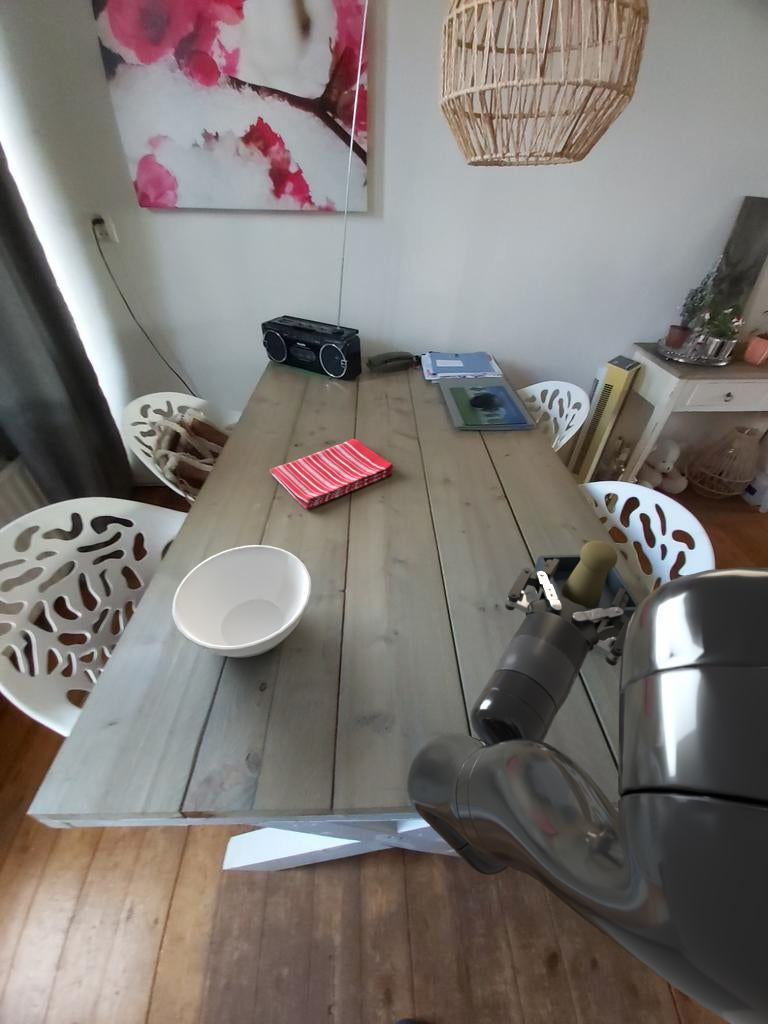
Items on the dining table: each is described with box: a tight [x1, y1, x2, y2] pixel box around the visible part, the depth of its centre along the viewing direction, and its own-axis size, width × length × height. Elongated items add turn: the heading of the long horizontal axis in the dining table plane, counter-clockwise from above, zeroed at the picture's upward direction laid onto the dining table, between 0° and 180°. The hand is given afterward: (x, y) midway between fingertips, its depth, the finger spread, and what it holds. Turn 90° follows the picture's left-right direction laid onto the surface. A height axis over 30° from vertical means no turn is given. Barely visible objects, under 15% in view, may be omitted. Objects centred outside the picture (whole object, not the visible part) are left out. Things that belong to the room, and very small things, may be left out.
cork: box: [562, 540, 618, 609], centre depth 70 cm, size 6×6×11 cm
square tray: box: [533, 554, 640, 618], centre depth 73 cm, size 12×12×4 cm
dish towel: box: [269, 438, 394, 511], centre depth 101 cm, size 17×24×3 cm
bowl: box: [171, 544, 312, 659], centre depth 66 cm, size 19×19×8 cm
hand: (586, 577), depth 58 cm, fingers open, 8 cm apart
